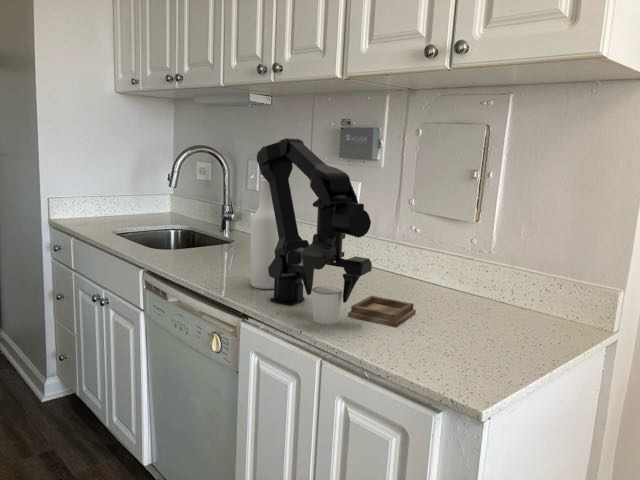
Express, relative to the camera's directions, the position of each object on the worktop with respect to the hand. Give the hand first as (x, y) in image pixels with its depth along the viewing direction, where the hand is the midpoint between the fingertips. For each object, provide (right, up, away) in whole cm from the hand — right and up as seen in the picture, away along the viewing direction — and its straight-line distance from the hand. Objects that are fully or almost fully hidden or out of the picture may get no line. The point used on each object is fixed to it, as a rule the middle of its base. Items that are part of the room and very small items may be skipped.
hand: (326, 298), depth 118 cm
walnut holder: (+13, -5, +6) cm, 15 cm away
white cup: (0, -5, +1) cm, 5 cm away
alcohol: (-16, 0, +26) cm, 31 cm away
